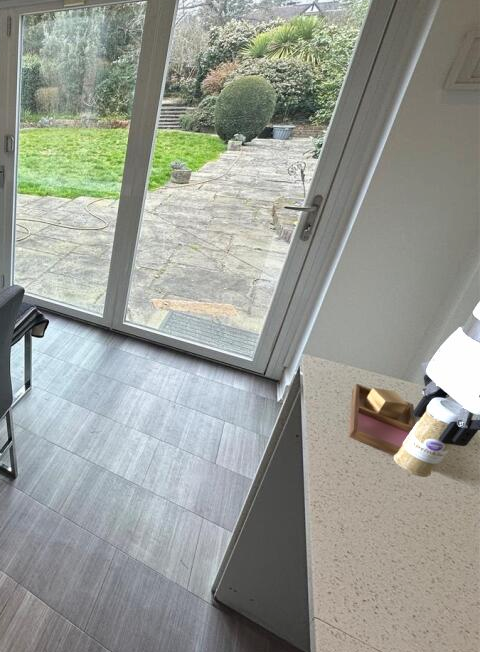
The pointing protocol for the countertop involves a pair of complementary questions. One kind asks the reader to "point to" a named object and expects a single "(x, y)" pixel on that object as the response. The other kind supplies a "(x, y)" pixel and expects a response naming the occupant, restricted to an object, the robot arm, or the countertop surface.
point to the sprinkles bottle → (428, 438)
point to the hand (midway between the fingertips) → (438, 428)
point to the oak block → (386, 402)
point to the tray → (378, 424)
